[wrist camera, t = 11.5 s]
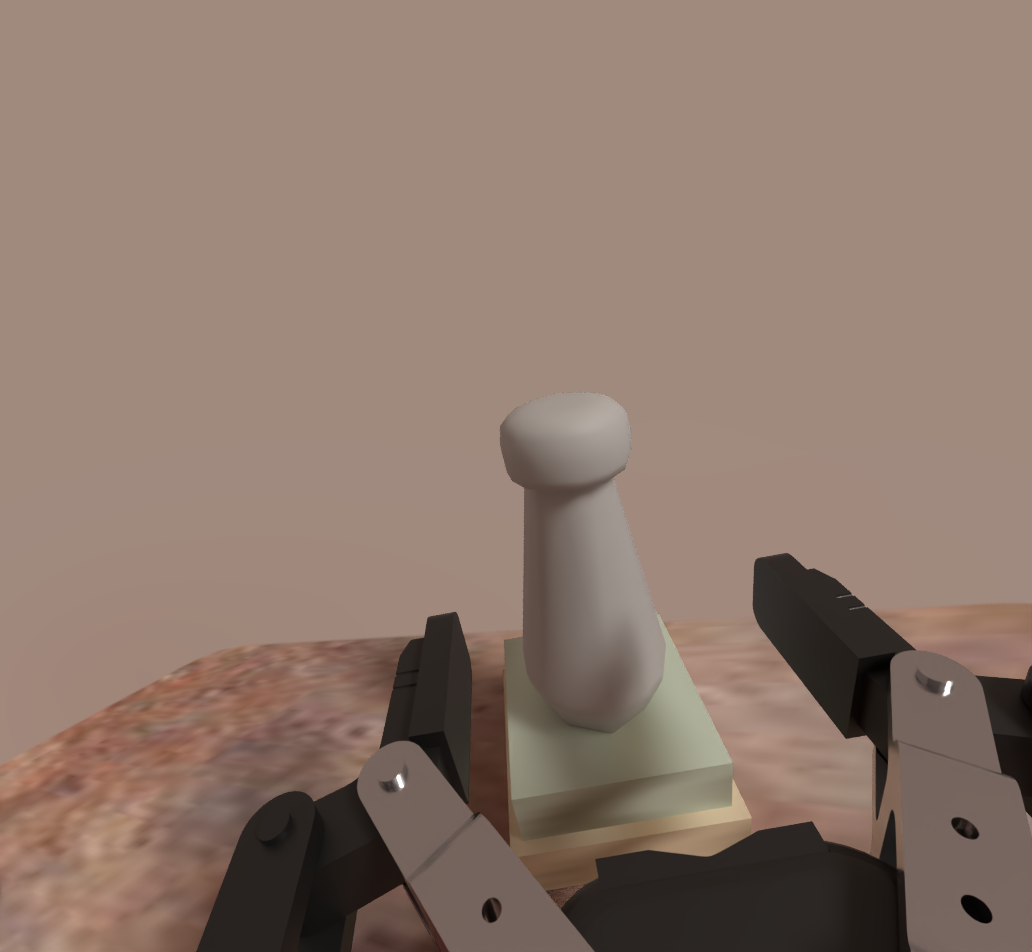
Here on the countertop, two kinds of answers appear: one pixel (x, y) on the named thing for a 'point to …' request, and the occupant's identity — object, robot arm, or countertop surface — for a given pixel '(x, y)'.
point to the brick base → (615, 779)
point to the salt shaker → (581, 562)
